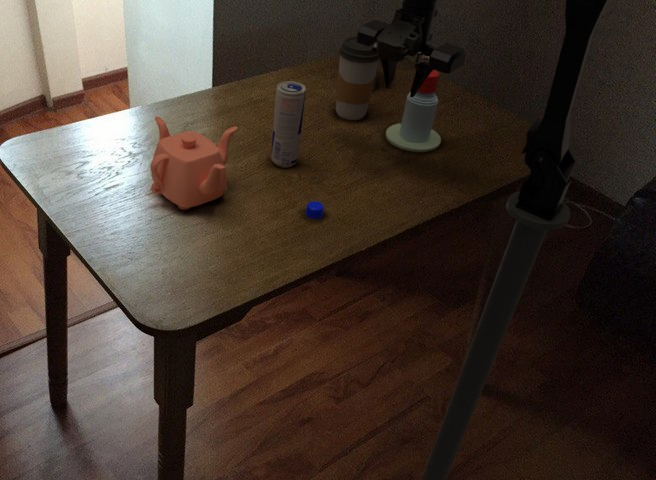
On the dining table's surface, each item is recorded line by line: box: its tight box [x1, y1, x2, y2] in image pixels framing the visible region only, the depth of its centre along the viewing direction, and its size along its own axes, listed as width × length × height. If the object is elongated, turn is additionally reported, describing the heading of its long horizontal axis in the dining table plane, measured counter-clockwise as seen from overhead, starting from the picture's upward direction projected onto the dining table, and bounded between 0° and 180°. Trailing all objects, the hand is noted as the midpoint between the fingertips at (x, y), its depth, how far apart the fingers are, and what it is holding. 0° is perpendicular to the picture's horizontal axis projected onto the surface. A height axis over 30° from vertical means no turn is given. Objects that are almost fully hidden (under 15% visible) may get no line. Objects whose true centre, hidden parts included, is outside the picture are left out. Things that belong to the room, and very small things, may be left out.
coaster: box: [385, 122, 442, 153], centre depth 142 cm, size 11×11×1 cm
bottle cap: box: [305, 201, 325, 220], centre depth 119 cm, size 3×3×2 cm
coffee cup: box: [335, 35, 381, 121], centre depth 143 cm, size 8×8×15 cm
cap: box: [418, 70, 440, 94], centre depth 134 cm, size 4×4×3 cm
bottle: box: [399, 91, 439, 143], centre depth 137 cm, size 6×6×12 cm
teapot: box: [149, 115, 238, 211], centre depth 118 cm, size 14×14×11 cm
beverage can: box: [270, 80, 307, 169], centre depth 127 cm, size 5×5×15 cm
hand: (400, 92), depth 127 cm, fingers open, 5 cm apart
